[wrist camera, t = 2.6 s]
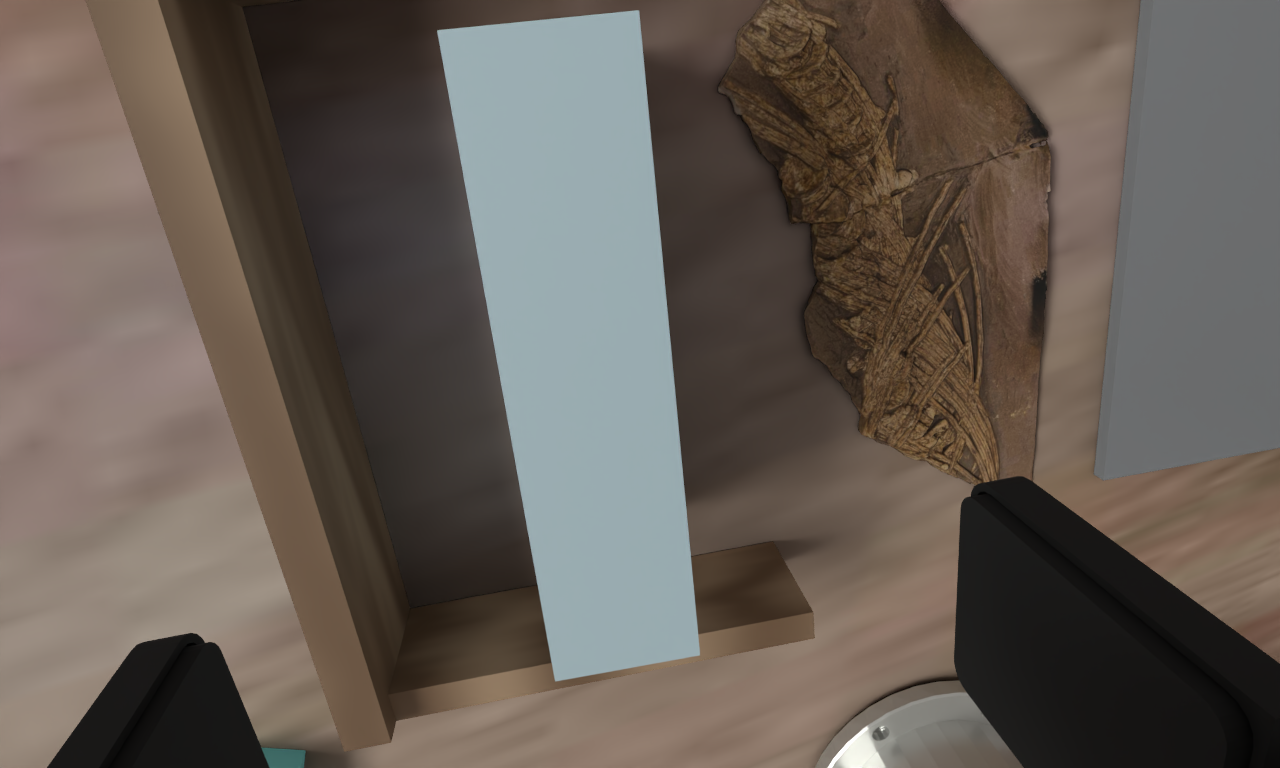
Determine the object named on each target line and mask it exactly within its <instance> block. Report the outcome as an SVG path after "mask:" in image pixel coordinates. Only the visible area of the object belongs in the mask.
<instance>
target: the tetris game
mask: <svg viewBox="0 0 1280 768" xmlns="http://www.w3.org/2000/svg"><path fill="white" fill-rule="evenodd" d="M262 751H263V753H264V755H265V758H266V760H267V763H268V765H269V768H304V762H305V752H306V750H293V749H277V748H262Z"/></svg>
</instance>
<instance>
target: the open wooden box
mask: <svg viewBox="0 0 1280 768" xmlns="http://www.w3.org/2000/svg"><path fill="white" fill-rule="evenodd" d="M288 1H297V0H86V3H87V6H88V9H89V12H90V15H91V18H92V21H93V24H94V26H95V29H96V32H97V35H98V38H99V41H100V44H101V47H102V50H103V53H104V55H105V58H106V61H107V64H108V67H109V70H110V73H111V76H112V79H113V82H114V84H115V87H116V90H117V93H118V96H119V99H120V102H121V105H122V108H123V111H124V114H125V116H126V119H127V122H128V125H129V128H130V131H131V134H132V137H133V140H134V143H135V145H136V148H137V151H138V154H139V157H140V160H141V163H142V166H143V169H144V172H145V174H146V177H147V180H148V183H149V186H150V189H151V192H152V195H153V198H154V201H155V203H156V206H157V209H158V212H159V215H160V218H161V221H162V224H163V227H164V230H165V232H166V235H167V238H168V241H169V244H170V247H171V250H172V253H173V256H174V259H175V261H176V264H177V267H178V270H179V273H180V276H181V279H182V282H183V285H184V288H185V291H186V293H187V296H188V299H189V302H190V305H191V308H192V311H193V314H194V317H195V320H196V322H197V325H198V328H199V331H200V334H201V337H202V340H203V343H204V346H205V349H206V351H207V354H208V357H209V360H210V363H211V366H212V369H213V372H214V375H215V378H216V380H217V383H218V386H219V389H220V392H221V395H222V398H223V401H224V404H225V407H226V409H227V412H228V415H229V418H230V421H231V424H232V427H233V430H234V433H235V436H236V439H237V441H238V444H239V447H240V450H241V453H242V456H243V459H244V462H245V465H246V468H247V470H248V473H249V476H250V479H251V482H252V485H253V488H254V491H255V494H256V497H257V499H258V502H259V505H260V508H261V511H262V514H263V517H264V520H265V523H266V526H267V528H268V531H269V534H270V537H271V540H272V543H273V546H274V549H275V552H276V555H277V557H278V560H279V563H280V566H281V569H282V572H283V575H284V578H285V581H286V584H287V587H288V589H289V592H290V595H291V598H292V601H293V604H294V607H295V610H296V613H297V616H298V618H299V621H300V624H301V627H302V630H303V633H304V636H305V639H306V642H307V645H308V647H309V650H310V653H311V656H312V659H313V662H314V665H315V668H316V671H317V674H318V676H319V679H320V682H321V685H322V688H323V691H324V694H325V697H326V700H327V703H328V705H329V708H330V711H331V714H332V717H333V720H334V723H335V726H336V729H337V732H338V735H339V737H340V740H341V743H342V746H343V749H344V752H346V751H351V750H356V749H361V748H366V747H371V746H376V745H381V744H386V743H391V741H392V736H393V732H394V728H395V723H396V721H398V720H403V719H408V718H413V717H418V716H423V715H428V714H433V713H438V712H443V711H448V710H453V709H459V708H464V707H469V706H474V705H479V704H484V703H489V702H494V701H499V700H504V699H509V698H514V697H519V696H524V695H529V694H535V693H540V692H545V691H550V690H555V689H560V688H565V687H570V686H575V685H580V684H585V683H590V682H595V681H600V680H606V679H611V678H616V677H621V676H626V675H631V674H636V673H641V672H646V671H651V670H656V669H661V668H666V667H671V666H676V665H682V664H687V663H692V662H697V661H702V660H707V659H712V658H717V657H722V656H727V655H732V654H737V653H742V652H747V651H753V650H758V649H763V648H768V647H773V646H778V645H783V644H788V643H793V642H798V641H803V640H808V639H813V638H815V635H814V616H813V611H812V609H811V607H810V606H809V604H808V602H807V600H806V598H805V597H804V595H803V593H802V591H801V590H800V588H799V586H798V584H797V583H796V581H795V579H794V577H793V576H792V574H791V572H790V570H789V569H788V567H787V565H786V563H785V562H784V560H783V558H782V556H781V555H780V553H779V551H778V549H777V548H776V546H775V544H774V542H768V543H762V544H757V545H751V546H746V547H741V548H735V549H730V550H724V551H719V552H714V553H708V554H703V555H697V556H692V557H691V564H692V575H693V585H694V596H695V606H696V617H697V627H698V638H699V648H700V655H699V656H694V657H688V658H682V659H677V660H671V661H666V662H660V663H655V664H649V665H644V666H638V667H633V668H627V669H622V670H616V671H611V672H605V673H600V674H594V675H589V676H583V677H578V678H572V679H566V680H561V681H555V678H554V673H553V667H552V662H551V656H550V651H549V645H548V640H547V634H546V629H545V623H544V618H543V612H542V607H541V601H540V595H539V590H538V585H535V586H530V587H524V588H519V589H514V590H508V591H503V592H497V593H492V594H487V595H481V596H476V597H470V598H465V599H460V600H454V601H449V602H443V603H438V604H433V605H427V606H422V607H416V608H411V609H410V606H409V602H408V599H407V595H406V592H405V588H404V584H403V581H402V577H401V574H400V570H399V567H398V563H397V559H396V556H395V552H394V549H393V545H392V542H391V538H390V534H389V531H388V527H387V524H386V520H385V517H384V513H383V509H382V506H381V502H380V499H379V495H378V491H377V488H376V484H375V481H374V477H373V474H372V470H371V466H370V463H369V459H368V456H367V452H366V449H365V445H364V441H363V438H362V434H361V431H360V427H359V424H358V420H357V416H356V413H355V409H354V406H353V402H352V398H351V395H350V391H349V388H348V384H347V381H346V377H345V373H344V370H343V366H342V363H341V359H340V356H339V352H338V348H337V345H336V341H335V338H334V334H333V331H332V327H331V323H330V320H329V316H328V313H327V309H326V305H325V302H324V298H323V295H322V291H321V288H320V284H319V280H318V277H317V273H316V270H315V266H314V263H313V259H312V255H311V252H310V248H309V245H308V241H307V238H306V234H305V230H304V227H303V223H302V220H301V216H300V213H299V209H298V205H297V202H296V198H295V195H294V191H293V187H292V184H291V180H290V177H289V173H288V170H287V166H286V162H285V159H284V155H283V152H282V148H281V145H280V141H279V137H278V134H277V130H276V127H275V123H274V120H273V116H272V112H271V109H270V105H269V102H268V98H267V94H266V91H265V87H264V84H263V80H262V77H261V73H260V69H259V66H258V62H257V59H256V55H255V52H254V48H253V44H252V41H251V37H250V34H249V30H248V27H247V23H246V19H245V16H244V12H243V9H242V7H245V6H254V5H262V4H271V3H279V2H288Z"/></svg>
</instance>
